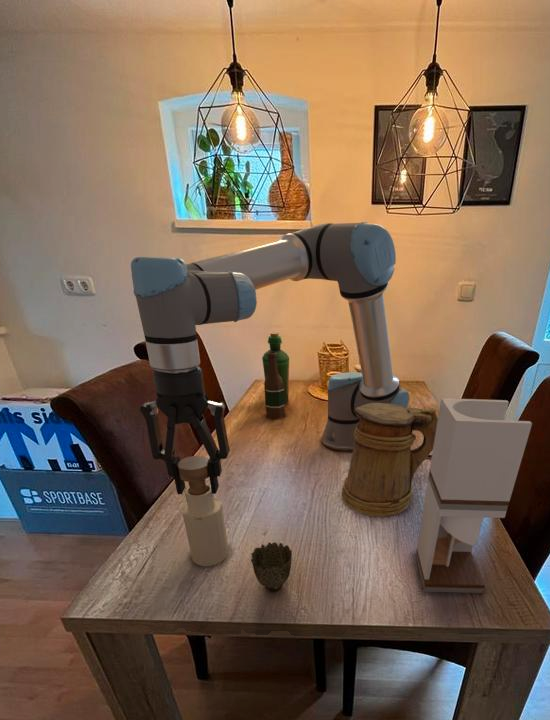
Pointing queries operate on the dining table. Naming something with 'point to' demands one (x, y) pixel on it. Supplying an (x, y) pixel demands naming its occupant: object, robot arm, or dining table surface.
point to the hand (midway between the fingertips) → (198, 490)
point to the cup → (272, 565)
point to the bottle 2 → (278, 362)
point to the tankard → (386, 457)
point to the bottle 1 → (205, 528)
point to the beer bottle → (274, 389)
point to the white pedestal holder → (466, 488)
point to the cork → (194, 473)
